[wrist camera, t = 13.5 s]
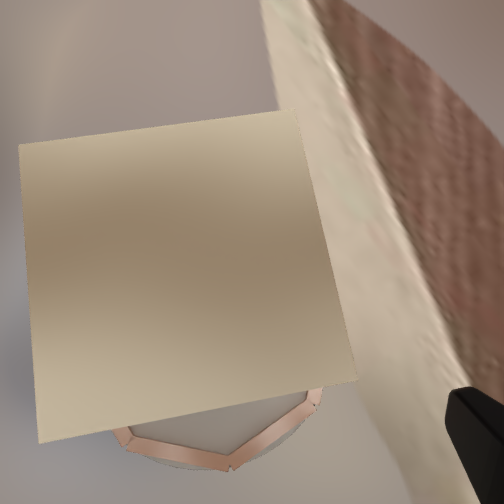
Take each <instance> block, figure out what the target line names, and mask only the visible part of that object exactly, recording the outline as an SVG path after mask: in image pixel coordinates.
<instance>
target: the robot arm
mask: <svg viewBox="0 0 504 504" xmlns="http://www.w3.org/2000/svg"><path fill="white" fill-rule="evenodd" d="M445 425H446V429H447V432H448V434H449V436H450V438H451V441H452V443H453V445H454V447H455V449H456V451H457V454H458V456H459V458H460V460H461V462H462V464H463V467H464V469H465V471H466V473H467V475H468V477H469V480H470V482H471V484H472V486H473V488H474V490H475V493H476V495H477V497H478V499H479V501H480V503H481V504H504V405H503V404H501V403H499V402H498V401H496V400H494V399H493V398H491V397H489V396H488V395H486V394H485V393H483V392H481V391H480V390H478V389H476V388H474V387H463V388H458V389H454V390H452V391H451V392H450V393H449V397H448V403H447V409H446V415H445Z"/></svg>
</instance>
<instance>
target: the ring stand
mask: <svg viewBox="0 0 504 504" xmlns="http://www.w3.org/2000/svg"><path fill="white" fill-rule="evenodd" d="M323 388H324V387H323ZM323 388H318V389H313V390H308V391H303V392H297V393H292V394H287V395H282V396H277V397H272V398H267V399H262V400H257V401H252V402H247V403H242V404H237V405H232V406H227V407H222V408H217V409H212V410H207V411H202V412H197V413H192V414H187V415H182V416H177V417H172V418H167V419H162V420H157V421H152V422H147V423H142V424H137V425H131V426H126V427H121V428H116V429H111V432H112V433H113V434H114V435H115V437H116V438H117V440H118V442H119V444H120V445H121V447H123V446H125V445H127V450H126V451H129V452H133V453H138V454H141V455H143V456H145V457H147V458H149V459H152V460H154V461H156V462H158V463H162V464H165V465H169V466H172V467H176V468H183V469H190V470H220V471H225V472H228V470H229V467H232V469H233V470H235V469H237V468H238V467H240V466H241V465H242V464H244V463H246V462H248V461H251V460H253V459H255V458H258V457H260V456H262V455H264V454H266V453H267V452H269V451H270V450H272V449H274V448H275V447H277V446H278V445H280V444H281V443H282V442H283V441H284V440H286V439H287V438H288V437H289V436H290V435H292V433H294V432H295V431H296V429H297V428H298V427H299V426H300V425H301V424H302V423H303V422H304V421H305V419H306V418H307V417H308V416H310V415H311V414H313V413H314V412H315V411H317V410H316V408H315V405H320V401H321V395H322V391H323Z"/></svg>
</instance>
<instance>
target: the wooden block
mask: <svg viewBox="0 0 504 504" xmlns="http://www.w3.org/2000/svg"><path fill="white" fill-rule="evenodd" d="M18 147H19V162H20V177H21V191H22V206H23V221H24V236H25V250H26V265H27V280H28V295H29V309H30V324H31V338H32V353H33V367H34V383H35V398H36V413H37V426H38V442H39V444H41V443H46V442H51V441H56V440H61V439H66V438H71V437H76V436H81V435H85V434H91V433H96V432H101V431H106V430H111V429H116V428H121V427H126V426H131V425H137V424H142V423H147V422H152V421H157V420H162V419H167V418H172V417H177V416H182V415H187V414H192V413H197V412H202V411H207V410H212V409H217V408H222V407H227V406H232V405H237V404H242V403H247V402H252V401H257V400H262V399H267V398H272V397H277V396H282V395H287V394H292V393H297V392H303V391H308V390H313V389H318V388H323V387H328V386H332V385H338V384H343V383H348V382H353V381H358V377H357V373H356V368H355V364H354V360H353V356H352V351H351V347H350V343H349V339H348V334H347V330H346V326H345V322H344V317H343V313H342V309H341V305H340V300H339V296H338V292H337V288H336V283H335V279H334V275H333V271H332V266H331V262H330V258H329V254H328V249H327V245H326V241H325V237H324V232H323V228H322V224H321V220H320V215H319V211H318V207H317V202H316V198H315V194H314V190H313V185H312V181H311V177H310V173H309V168H308V164H307V160H306V156H305V151H304V147H303V143H302V139H301V134H300V130H299V126H298V122H297V117H296V113H295V109H288V110H280V111H273V112H266V113H258V114H250V115H242V116H235V117H228V118H220V119H212V120H204V121H197V122H189V123H182V124H174V125H166V126H159V127H152V128H144V129H137V130H128V131H121V132H113V133H105V134H98V135H90V136H82V137H75V138H67V139H60V140H52V141H45V142H37V143H29V144H22V145H18Z"/></svg>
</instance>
